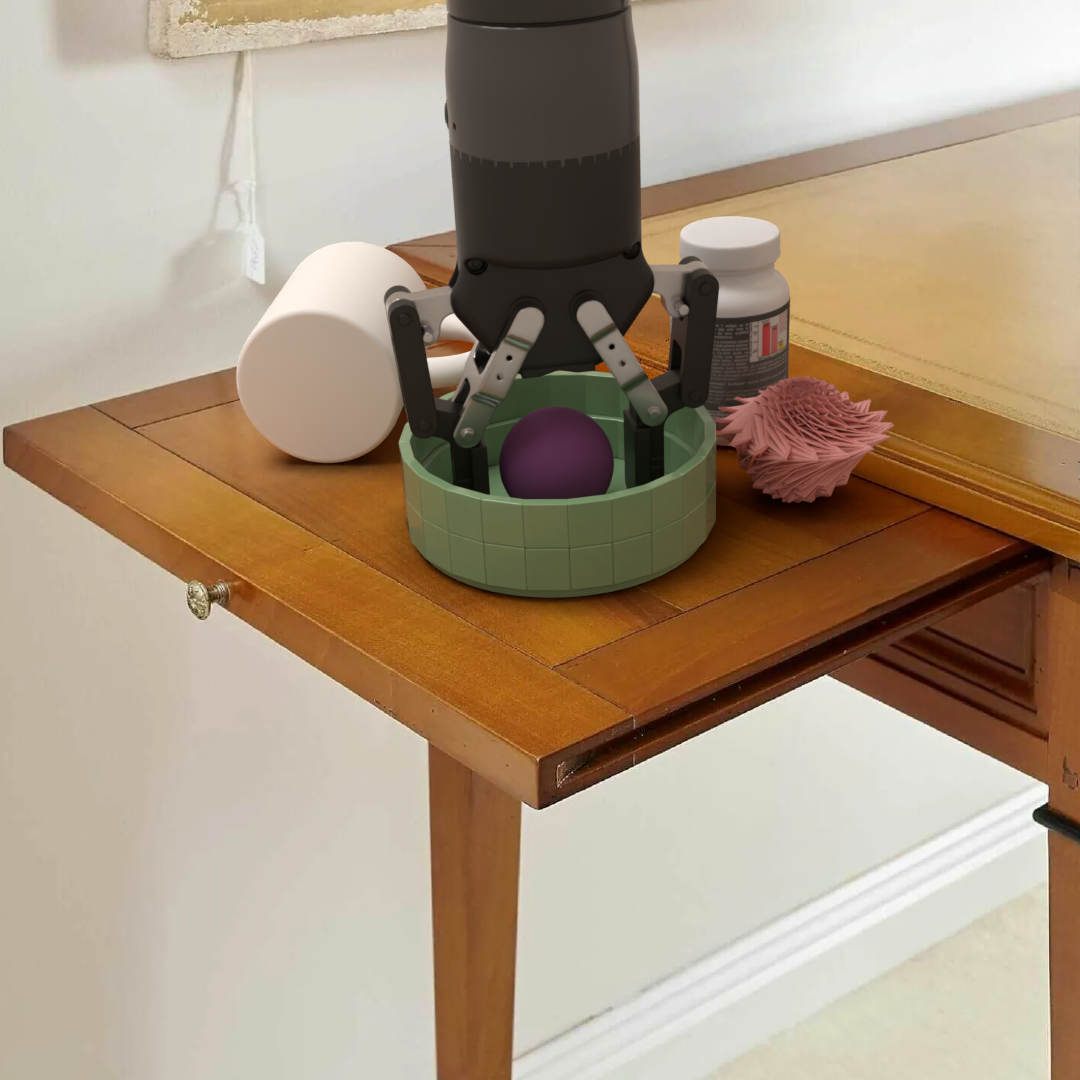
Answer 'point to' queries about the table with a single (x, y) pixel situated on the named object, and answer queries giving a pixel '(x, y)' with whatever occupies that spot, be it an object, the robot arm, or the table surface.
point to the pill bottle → (742, 307)
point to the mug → (334, 356)
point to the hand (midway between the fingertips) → (560, 503)
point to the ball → (556, 456)
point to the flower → (801, 437)
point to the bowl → (563, 502)
